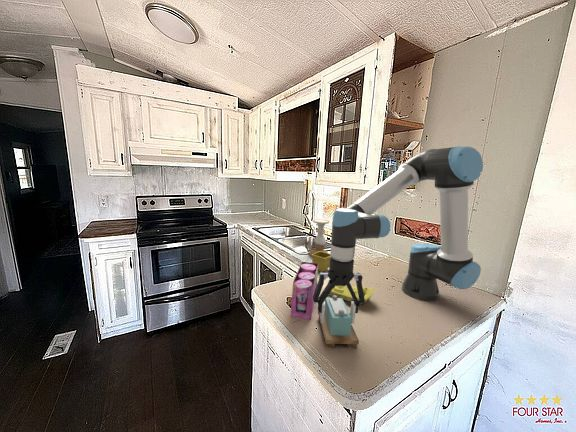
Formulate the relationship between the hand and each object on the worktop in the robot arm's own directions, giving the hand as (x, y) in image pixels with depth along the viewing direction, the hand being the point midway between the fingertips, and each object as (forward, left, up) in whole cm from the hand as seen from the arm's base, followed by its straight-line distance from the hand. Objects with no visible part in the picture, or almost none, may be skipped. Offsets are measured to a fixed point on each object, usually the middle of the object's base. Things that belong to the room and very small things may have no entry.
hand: (336, 320), depth 80 cm
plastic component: (-12, -24, -5) cm, 27 cm away
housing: (0, 0, -1) cm, 1 cm away
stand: (0, 0, -4) cm, 4 cm away
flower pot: (-4, -53, -4) cm, 53 cm away
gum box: (+9, -18, -4) cm, 21 cm away
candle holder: (-6, -74, -4) cm, 74 cm away
